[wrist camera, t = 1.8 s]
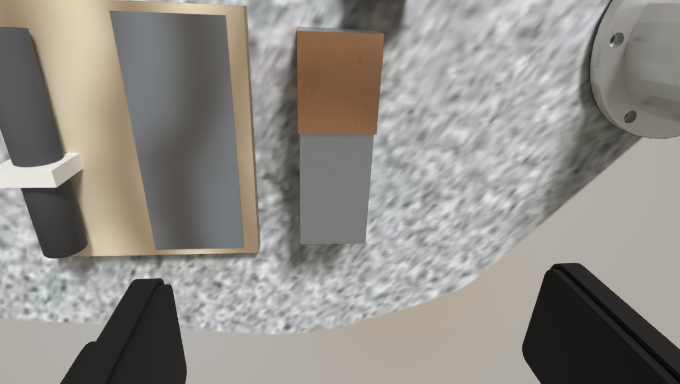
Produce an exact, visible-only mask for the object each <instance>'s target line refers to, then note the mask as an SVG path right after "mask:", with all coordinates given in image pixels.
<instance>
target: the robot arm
mask: <svg viewBox="0 0 680 384" xmlns="http://www.w3.org/2000/svg"><path fill="white" fill-rule="evenodd" d="M590 81H591V86H592V91H593V95H594V98H595V101H596V103H597V105H598V107H599V109H600V111H601V112H602V113H603V114H604V116H605V117H606V118H607V119H608V120H609V121H610V122H611V123H612V124H614V125H615V126H617V127H618V128H620V129H622V130H624V131H627V132H629V133H632V134H634V135H637V136H642V137H646V138H661V139H663V138H664V139H666V138H671V137H677V136H680V0H612V2H611V4H610V6H609V8H608V9H607V11H606V13H605V15H604V17H603V19H602V21H601V23H600V26H599V29H598V32H597V35H596V38H595V41H594V45H593V50H592V56H591V62H590ZM522 352H523V356H524V359H525V360H526V362H527V364H528V365H529V367H530V368H531V370H532V371H533V373H534V374H535V376H536V377H537V379H538V380H539V381H540V383H541V384H680V349H679V348H677V347H676V346H675V345H674V344H673V343H671V341H669V340H668V339H667V338H666V337H665V336H664V335H662V334H661V333H660V332H659V331H658V330H657V329H656V328H654V327H653V326H652V325H651V324H650V323H648V322H647V321H646V320H645V319H644V318H643V317H642V316H640V315H639V314H638V313H637V312H636V311H635V310H633V309H632V308H631V307H630V306H629V305H628V304H627V303H625V302H624V301H623V300H622V299H621V298H620V297H619V296H617V295H616V294H615V293H614V292H613V291H611V290H610V289H609V288H608V287H607V286H606V285H605V284H603V283H602V282H601V281H600V280H599V279H597V277H595V276H594V275H593V274H592V273H591V272H590V271H588V270H587V269H586V268H585V267H584V266H582V265H581V264H579V263H562V264H554V265H553V266H552V267H551V269H550V270H548V271H547V272H546V273H545V276H544V279H543V282H542V285H541V288H540V291H539V295H538V298H537V301H536V304H535V307H534V310H533V313H532V317H531V320H530V323H529V326H528V329H527V332H526V336H525V339H524V342H523V346H522ZM186 375H187V369H186V362H185V356H184V350H183V345H182V339H181V333H180V328H179V322H178V317H177V311H176V306H175V300H174V294H173V289H172V286H171V285H170V284H166V285H164V281H163V280H162V279H161V278H156V279H135V280H133V281H132V283H131V284H130V286H129V287H128V289H127V291H126V292H125V294H124V296H123V297H122V299H121V301H120V302H119V304H118V306H117V307H116V309H115V311H114V312H113V314H112V316H111V317H110V319H109V321H108V322H107V324H106V326H105V327H104V329H103V331H102V333H101V334H100V336H99V337H98V339H97V341H95V342H89V343H88V344H86V345H85V347H84V348H83V349H82V350H81V352H80V353H79V355H78V356H77V358H76V359H75V361H74V363H73V364H72V366H71V367H70V369H69V371H68V372H67V374H66V375H65V377H64V379H63V380H62V382H61V383H60V384H185V382H186Z"/></svg>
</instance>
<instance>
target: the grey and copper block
mask: <svg viewBox="0 0 680 384" xmlns="http://www.w3.org/2000/svg"><path fill="white" fill-rule="evenodd" d="M383 46H384V34H383V33H379V32H375V31H371V30H362V29H337V28H311V27H297V111H298V134H300V245H303V244H356V243H365V240H366V227H367V215H368V202H369V189H370V176H371V163H372V151H373V138H374V134H376V133H377V120H378V108H379V96H380V83H381V71H382V59H383Z"/></svg>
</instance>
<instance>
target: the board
mask: <svg viewBox="0 0 680 384" xmlns="http://www.w3.org/2000/svg"><path fill="white" fill-rule="evenodd" d="M0 27H17V28H28V30H29V33H30V37H31V40H32V44H33V47H34V51H35V55H36V58H37V62H38V65H39V69H40V73H41V76H42V80H43V83H44V87H45V90H46V94H47V98H48V101H49V105H50V108H51V112H52V115H53V119H54V123H55V126H56V130H57V133H58V137H59V141H60V144H61V148H62V151H63V153H79V154H80V158H81V162H82V166H83V169H82V170H80V171H79V172H77V173H76V174H75V175H73V176H72V177H70V180H71V183H72V187H73V191H74V194H75V198H76V201H77V205H78V209H79V212H80V216H81V219H82V223H83V226H84V230H85V234H86V237H87V241H88V245H87V247H86V248H85V249H83V250H82V251H80V252H79V253H77V254H74V255H71V256H68V257H81V256H126V255H172V254H217V253H259V248H260V231H259V214H258V197H257V179H256V162H255V145H254V128H253V110H252V93H251V76H250V59H249V42H248V24H247V7H246V6H234V5H211V4H188V3H165V2H142V1H119V0H0Z"/></svg>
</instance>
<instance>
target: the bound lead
mask: <svg viewBox="0 0 680 384" xmlns="http://www.w3.org/2000/svg"><path fill="white" fill-rule="evenodd" d="M0 129H1V132H2V135H3V138H4V141H5V144H6V147H7V149H8V152H9V155H10V158H11V159H9V160H7V161H5V162H3V163H2V164H0V188H21V190H22V193H23V196H24V199H25V202H26V205H27V208H28V211H29V214H30V217H31V220H32V223H33V225H34V228H35V231H36V234H37V237H38V240H39V243H40V246H41V249H42V252H43V255H44V256H45V257H48V258H64V257H68V256H71V255H74V254H77V253H79V252H80V251H82V250H83V249H85V248H86V247H87V245H88V241H87V237H86V234H85V230H84V226H83V223H82V219H81V216H80V212H79V209H78V205H77V201H76V198H75V194H74V191H73V187H72V183H71V180H70V177H72V176H73V175H75V174H76V173H77V172H79V171H80V170H82V169H83V166H82V162H81V158H80V154H79V153H63V151H62V148H61V144H60V141H59V137H58V133H57V130H56V126H55V123H54V119H53V115H52V112H51V108H50V105H49V101H48V98H47V94H46V90H45V87H44V83H43V80H42V76H41V73H40V69H39V65H38V62H37V58H36V55H35V51H34V47H33V44H32V40H31V37H30V33H29V30H28V28H17V27H0Z"/></svg>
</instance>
